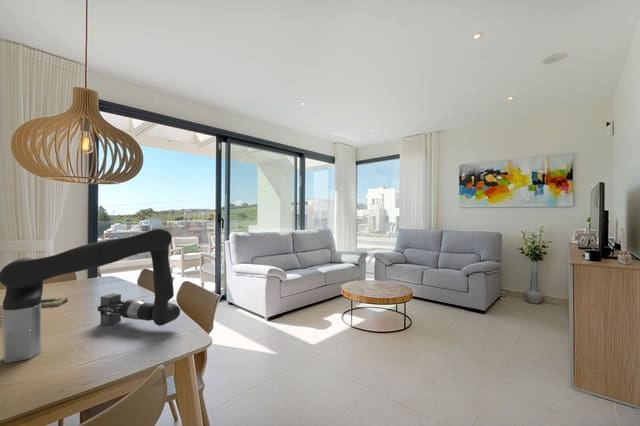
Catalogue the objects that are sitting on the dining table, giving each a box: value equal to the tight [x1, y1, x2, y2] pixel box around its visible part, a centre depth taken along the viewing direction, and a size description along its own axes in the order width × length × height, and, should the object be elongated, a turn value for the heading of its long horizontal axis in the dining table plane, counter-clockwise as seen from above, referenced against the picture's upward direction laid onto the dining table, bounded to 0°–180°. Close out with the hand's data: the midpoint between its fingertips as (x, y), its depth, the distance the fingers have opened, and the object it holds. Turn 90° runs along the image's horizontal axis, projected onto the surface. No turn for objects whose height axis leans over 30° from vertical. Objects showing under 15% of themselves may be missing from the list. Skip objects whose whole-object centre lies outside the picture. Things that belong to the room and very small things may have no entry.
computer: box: [41, 296, 69, 308], centre depth 152 cm, size 16×8×3 cm, turn 107°
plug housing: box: [99, 292, 122, 326], centre depth 130 cm, size 5×6×12 cm
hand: (107, 305), depth 131 cm, fingers open, 7 cm apart
